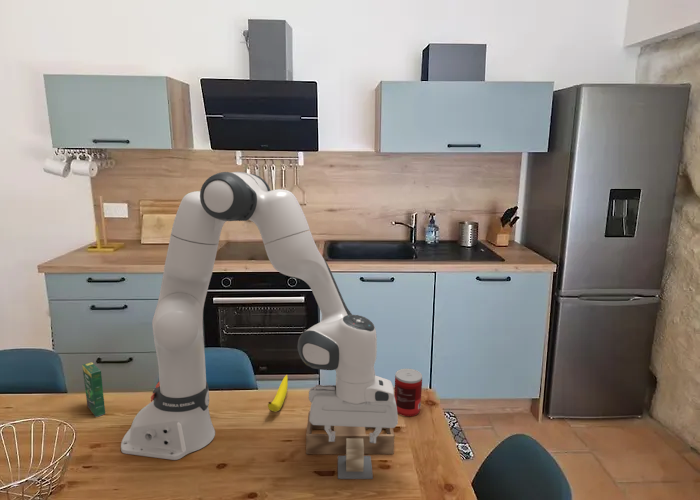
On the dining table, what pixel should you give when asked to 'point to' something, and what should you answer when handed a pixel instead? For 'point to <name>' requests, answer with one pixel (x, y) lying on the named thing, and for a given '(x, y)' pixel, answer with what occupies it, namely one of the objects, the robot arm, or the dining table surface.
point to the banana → (279, 396)
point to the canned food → (408, 391)
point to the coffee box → (94, 389)
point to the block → (354, 454)
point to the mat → (354, 475)
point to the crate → (323, 446)
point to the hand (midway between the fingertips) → (352, 441)
